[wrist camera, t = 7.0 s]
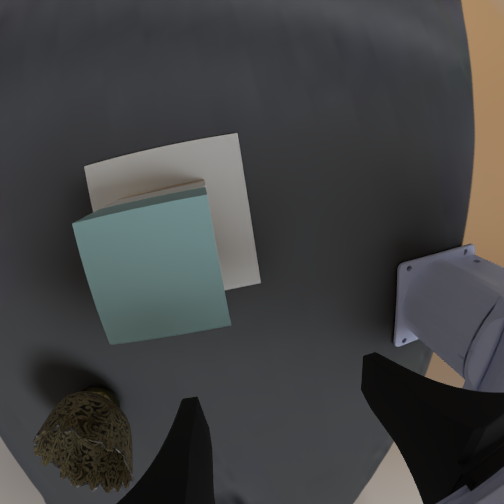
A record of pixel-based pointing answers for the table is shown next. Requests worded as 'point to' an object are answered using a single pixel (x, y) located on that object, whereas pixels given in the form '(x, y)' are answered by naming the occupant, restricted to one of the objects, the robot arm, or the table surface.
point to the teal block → (154, 267)
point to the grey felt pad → (187, 170)
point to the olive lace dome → (88, 440)
